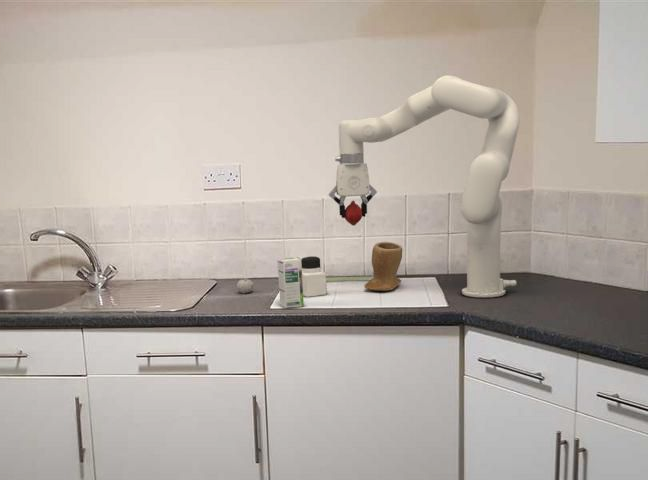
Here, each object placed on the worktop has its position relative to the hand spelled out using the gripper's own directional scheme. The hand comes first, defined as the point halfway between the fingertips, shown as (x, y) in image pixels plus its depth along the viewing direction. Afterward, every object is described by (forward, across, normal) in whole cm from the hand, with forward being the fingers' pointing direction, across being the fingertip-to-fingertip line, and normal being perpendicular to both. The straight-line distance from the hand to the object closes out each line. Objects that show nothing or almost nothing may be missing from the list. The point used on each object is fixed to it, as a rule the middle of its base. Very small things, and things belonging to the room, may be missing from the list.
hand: (353, 216), depth 243 cm
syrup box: (+24, -23, -19) cm, 38 cm away
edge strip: (+24, 0, +17) cm, 29 cm away
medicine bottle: (+24, -15, -4) cm, 28 cm away
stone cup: (+24, +9, -3) cm, 26 cm away
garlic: (+24, -36, +6) cm, 43 cm away
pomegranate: (+3, 0, 0) cm, 3 cm away
